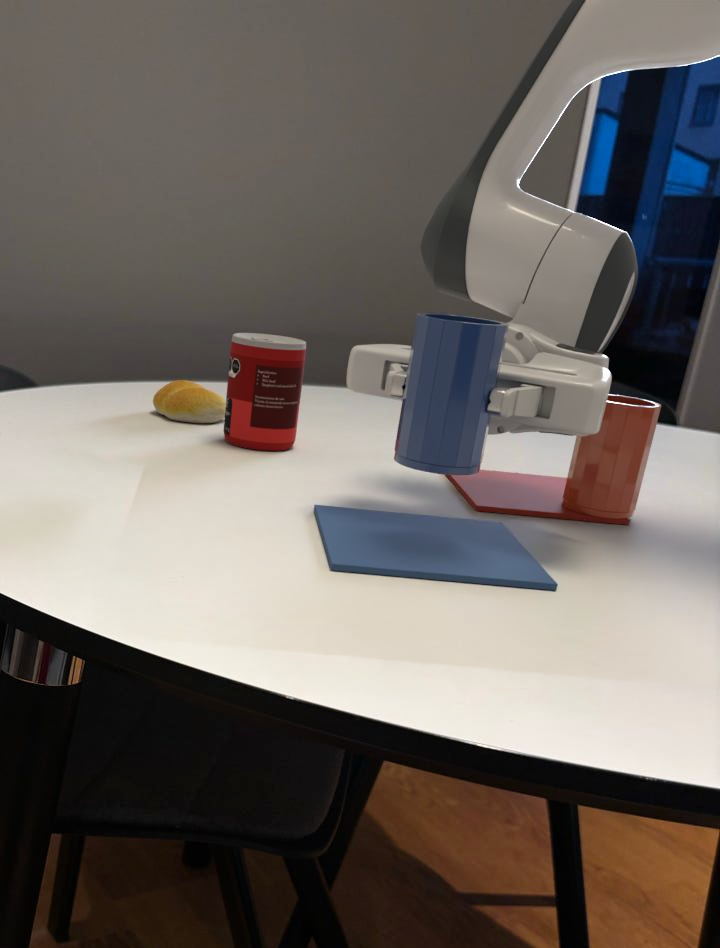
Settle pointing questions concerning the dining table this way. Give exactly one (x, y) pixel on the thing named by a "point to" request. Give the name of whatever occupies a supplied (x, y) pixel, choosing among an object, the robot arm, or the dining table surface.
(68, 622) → the dining table surface
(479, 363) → the blue cup
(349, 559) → the blue mat
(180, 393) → the bread roll
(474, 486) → the red mat
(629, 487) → the red cup
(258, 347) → the canned food
